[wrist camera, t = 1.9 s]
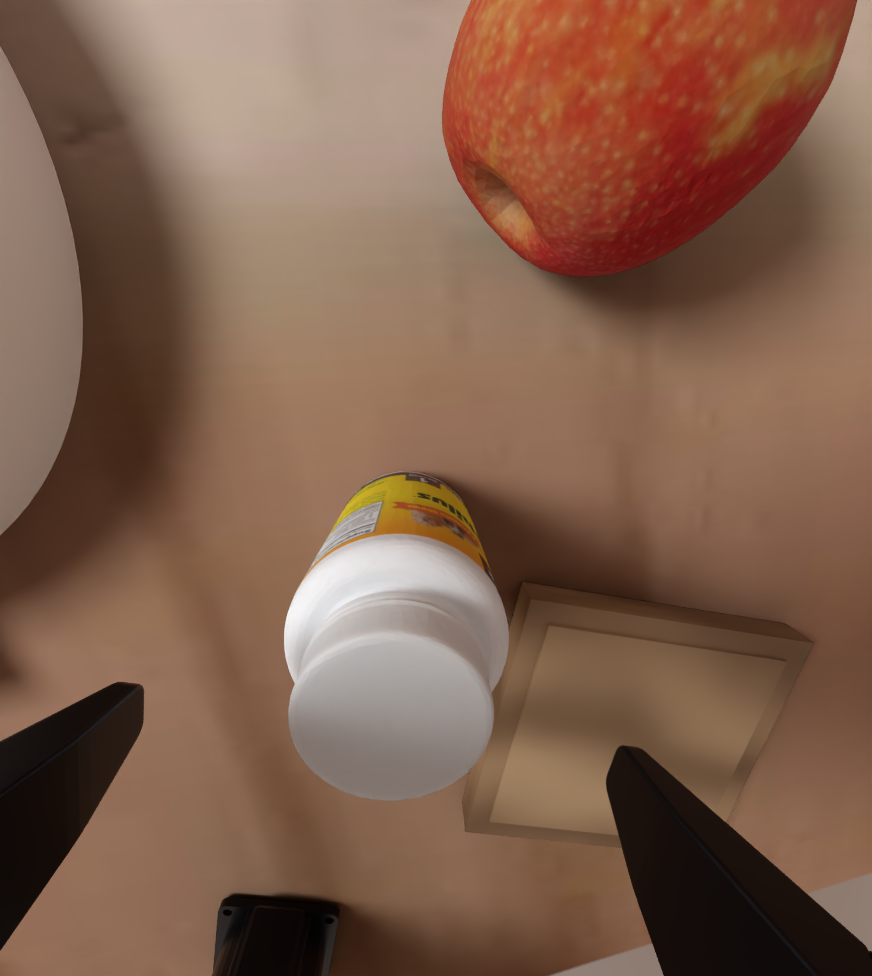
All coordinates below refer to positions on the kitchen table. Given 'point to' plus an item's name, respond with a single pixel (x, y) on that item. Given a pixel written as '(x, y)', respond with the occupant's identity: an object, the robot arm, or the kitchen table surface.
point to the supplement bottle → (396, 643)
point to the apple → (628, 116)
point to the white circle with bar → (33, 305)
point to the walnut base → (623, 708)
